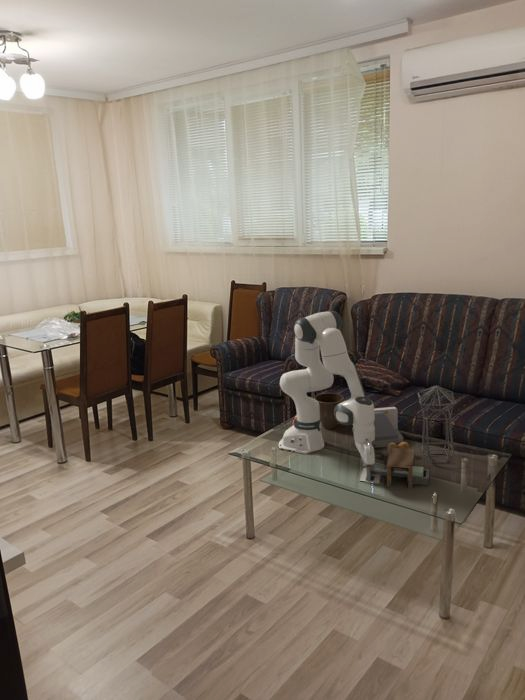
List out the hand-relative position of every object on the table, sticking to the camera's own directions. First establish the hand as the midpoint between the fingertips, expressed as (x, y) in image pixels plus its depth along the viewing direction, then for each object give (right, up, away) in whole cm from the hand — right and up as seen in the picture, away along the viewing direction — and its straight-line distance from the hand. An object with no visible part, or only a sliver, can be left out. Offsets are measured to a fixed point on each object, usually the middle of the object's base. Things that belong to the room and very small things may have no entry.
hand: (364, 464), depth 241 cm
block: (+21, -5, -5) cm, 22 cm away
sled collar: (+14, -5, -3) cm, 15 cm away
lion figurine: (+19, 0, +15) cm, 24 cm away
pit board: (+3, -5, +1) cm, 6 cm away
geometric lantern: (+34, 0, +12) cm, 36 cm away
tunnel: (+15, -5, -3) cm, 16 cm away
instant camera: (+14, +5, +36) cm, 39 cm away
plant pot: (-8, +9, +55) cm, 57 cm away
